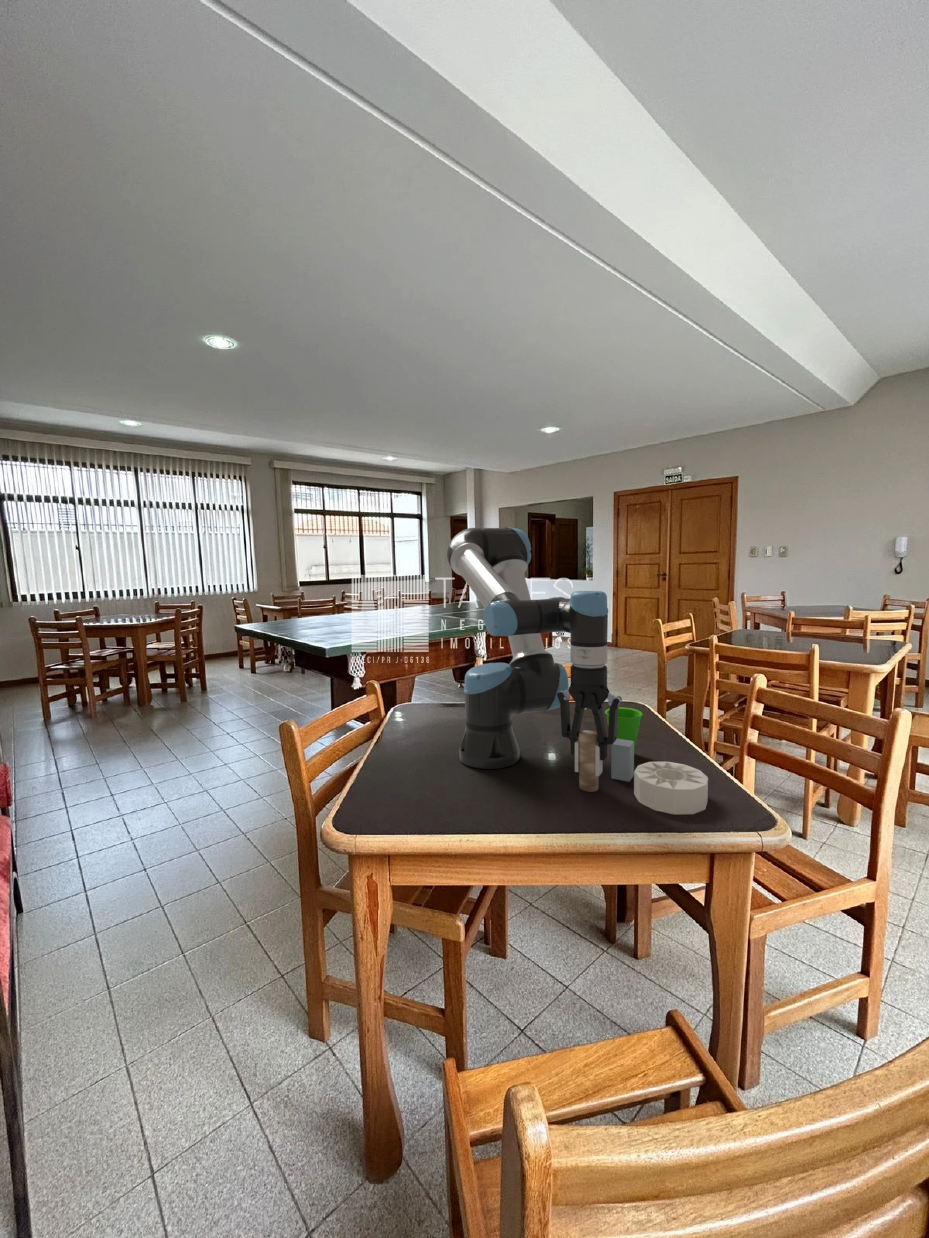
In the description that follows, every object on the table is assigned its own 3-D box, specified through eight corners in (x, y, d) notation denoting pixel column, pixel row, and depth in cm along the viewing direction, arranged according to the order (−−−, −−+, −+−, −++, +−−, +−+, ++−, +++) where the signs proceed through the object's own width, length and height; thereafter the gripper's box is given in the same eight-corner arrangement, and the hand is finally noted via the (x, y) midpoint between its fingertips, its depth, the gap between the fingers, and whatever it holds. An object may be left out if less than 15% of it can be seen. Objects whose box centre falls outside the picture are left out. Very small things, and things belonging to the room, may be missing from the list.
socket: (628, 804, 100) (628, 780, 100) (642, 778, 112) (643, 757, 111) (702, 820, 93) (703, 794, 93) (709, 791, 105) (710, 768, 104)
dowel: (576, 789, 108) (576, 734, 106) (582, 782, 111) (582, 729, 110) (595, 793, 106) (595, 737, 104) (600, 785, 109) (600, 732, 108)
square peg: (611, 778, 113) (611, 743, 112) (615, 771, 116) (616, 738, 115) (629, 781, 111) (629, 746, 110) (633, 775, 114) (634, 741, 113)
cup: (644, 763, 121) (645, 718, 120) (605, 760, 123) (606, 717, 121) (639, 749, 129) (640, 707, 128) (603, 747, 131) (603, 706, 130)
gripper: (544, 664, 107) (545, 770, 109) (625, 671, 98) (624, 786, 100) (557, 658, 113) (557, 758, 116) (634, 664, 104) (632, 772, 107)
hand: (588, 771), depth 108 cm, fingers closed on dowel, 4 cm apart
